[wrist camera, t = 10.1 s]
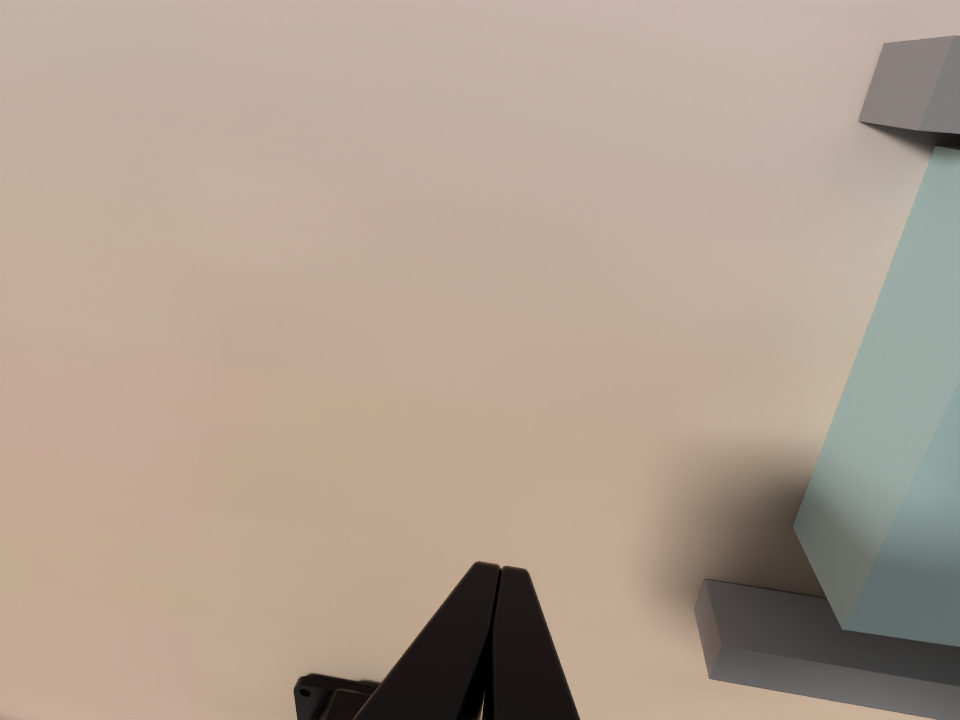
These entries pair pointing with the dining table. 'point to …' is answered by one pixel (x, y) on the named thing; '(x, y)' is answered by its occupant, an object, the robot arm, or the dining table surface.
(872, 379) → the teal carton
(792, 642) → the bracket
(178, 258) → the dining table surface
